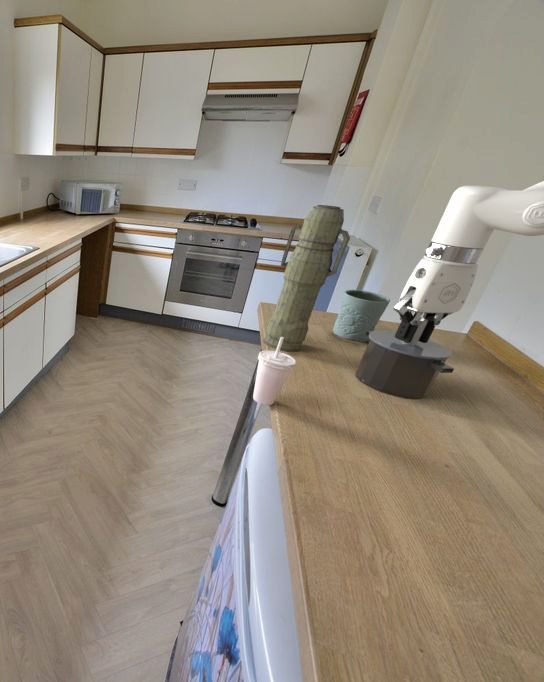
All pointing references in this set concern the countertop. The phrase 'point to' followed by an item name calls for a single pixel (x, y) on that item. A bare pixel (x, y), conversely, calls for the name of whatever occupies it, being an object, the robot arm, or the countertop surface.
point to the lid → (411, 343)
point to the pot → (398, 371)
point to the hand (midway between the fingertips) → (410, 339)
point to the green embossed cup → (359, 314)
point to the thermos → (306, 275)
